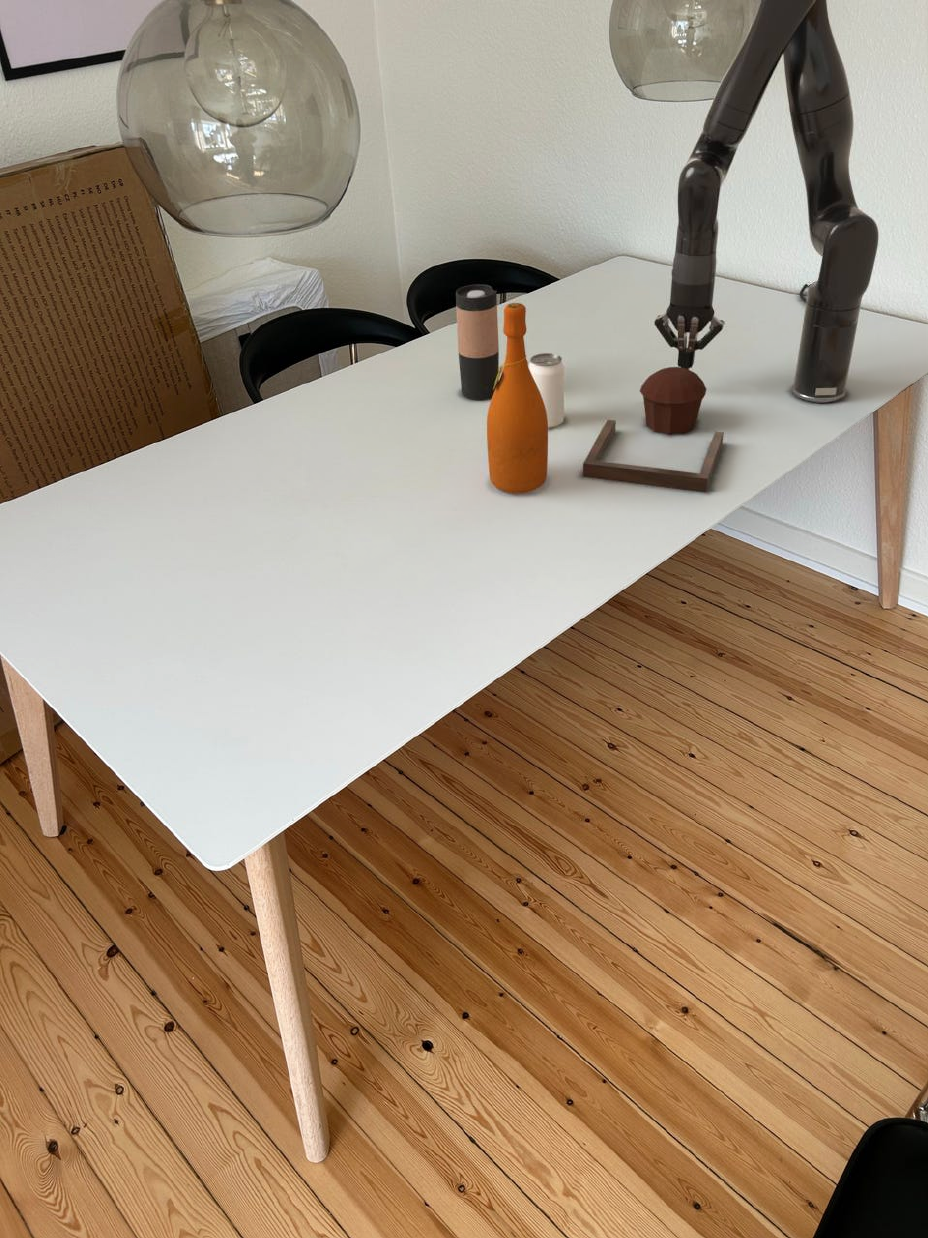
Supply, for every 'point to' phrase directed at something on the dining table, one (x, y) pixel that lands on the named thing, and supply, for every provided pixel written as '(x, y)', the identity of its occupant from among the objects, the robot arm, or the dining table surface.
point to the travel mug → (477, 340)
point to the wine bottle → (517, 416)
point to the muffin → (672, 400)
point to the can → (550, 384)
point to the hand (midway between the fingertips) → (685, 368)
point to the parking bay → (648, 474)
